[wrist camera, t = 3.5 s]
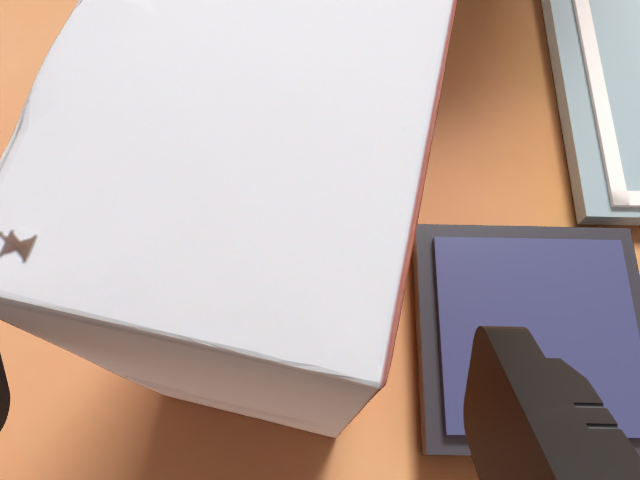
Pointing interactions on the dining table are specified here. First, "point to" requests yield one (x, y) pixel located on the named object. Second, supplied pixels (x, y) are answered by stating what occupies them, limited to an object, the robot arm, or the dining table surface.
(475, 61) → the dining table surface
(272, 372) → the small box
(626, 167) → the board
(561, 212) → the dining table surface
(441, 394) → the ink pad
